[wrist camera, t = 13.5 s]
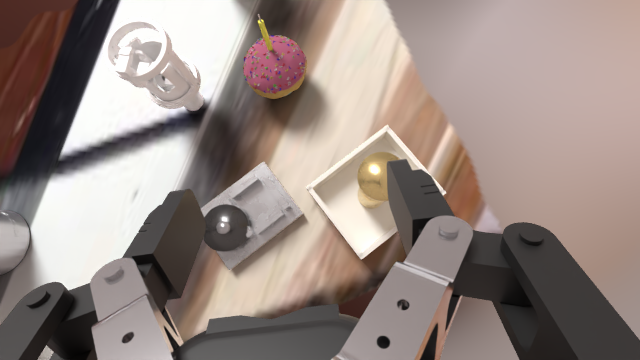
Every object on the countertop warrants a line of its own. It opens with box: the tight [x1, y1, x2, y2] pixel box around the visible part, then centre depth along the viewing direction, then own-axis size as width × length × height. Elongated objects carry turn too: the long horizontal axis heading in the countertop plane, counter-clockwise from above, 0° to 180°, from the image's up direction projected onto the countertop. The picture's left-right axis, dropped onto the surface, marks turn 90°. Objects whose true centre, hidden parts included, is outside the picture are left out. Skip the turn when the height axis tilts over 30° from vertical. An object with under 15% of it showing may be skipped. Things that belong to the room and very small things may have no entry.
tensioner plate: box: [201, 161, 303, 270], centre depth 43 cm, size 12×9×3 cm
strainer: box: [103, 17, 204, 111], centre depth 41 cm, size 7×7×15 cm
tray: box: [306, 125, 446, 260], centre depth 42 cm, size 13×11×4 cm
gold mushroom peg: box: [357, 152, 400, 209], centre depth 37 cm, size 5×5×13 cm
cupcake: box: [243, 14, 307, 99], centre depth 42 cm, size 9×8×12 cm
